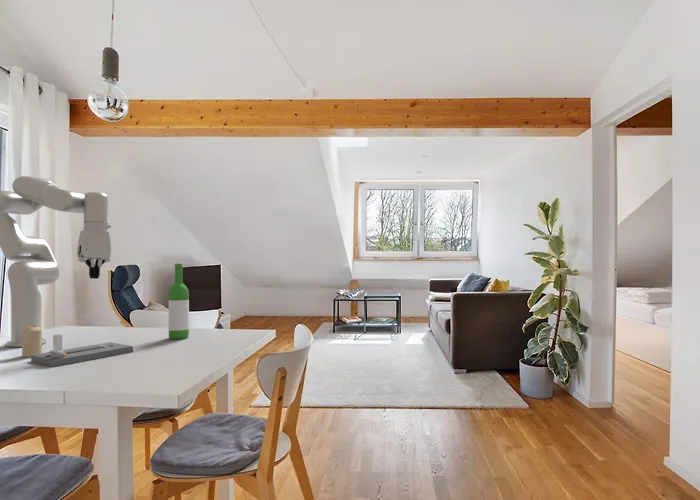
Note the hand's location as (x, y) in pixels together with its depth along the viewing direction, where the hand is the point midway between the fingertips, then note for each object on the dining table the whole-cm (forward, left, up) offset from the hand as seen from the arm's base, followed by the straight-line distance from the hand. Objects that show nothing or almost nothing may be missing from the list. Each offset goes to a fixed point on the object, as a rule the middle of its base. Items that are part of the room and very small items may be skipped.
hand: (94, 278), depth 171 cm
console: (+9, -8, -25) cm, 28 cm away
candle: (-7, -17, -26) cm, 32 cm away
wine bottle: (+6, +31, -26) cm, 40 cm away
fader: (+9, -17, -23) cm, 30 cm away
